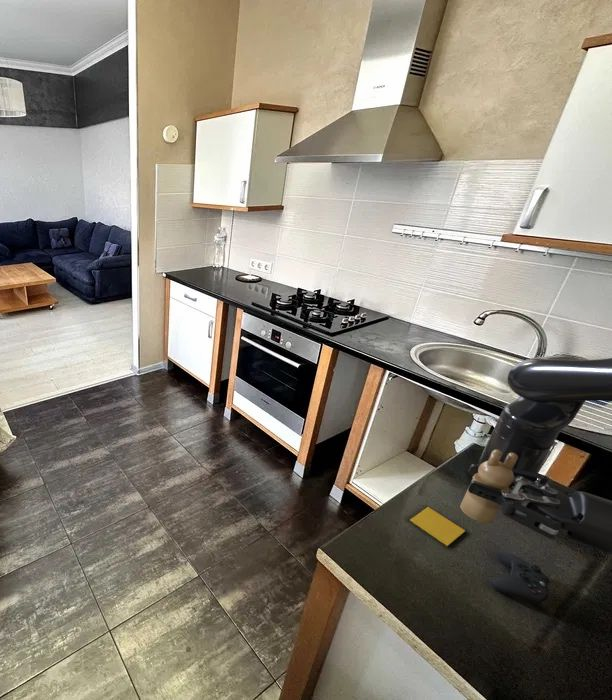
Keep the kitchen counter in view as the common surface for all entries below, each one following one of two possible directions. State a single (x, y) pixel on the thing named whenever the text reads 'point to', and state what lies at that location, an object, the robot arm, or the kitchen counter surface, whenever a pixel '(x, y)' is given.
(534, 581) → the game controller
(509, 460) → the toy rabbit
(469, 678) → the kitchen counter surface
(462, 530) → the flat yellow rectangular block
